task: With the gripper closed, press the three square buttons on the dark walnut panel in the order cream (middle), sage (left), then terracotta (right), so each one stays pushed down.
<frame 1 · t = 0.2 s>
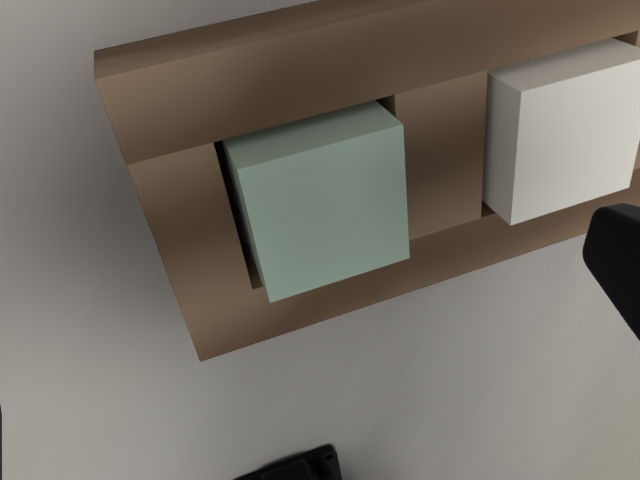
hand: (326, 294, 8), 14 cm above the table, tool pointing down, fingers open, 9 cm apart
sage button: (319, 198, 21), point 3 cm above the table, slide at 0.0 cm
cream button: (555, 129, 23), point 3 cm above the table, slide at 0.0 cm
button panel: (511, 103, 25), on the table
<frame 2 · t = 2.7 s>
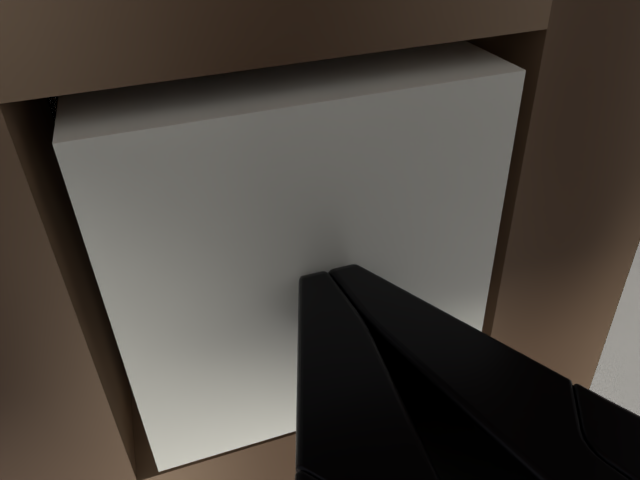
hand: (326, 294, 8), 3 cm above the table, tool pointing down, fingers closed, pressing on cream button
cream button: (292, 237, 9), point 2 cm above the table, slide at 1.3 cm, touching gripper
button panel: (266, 188, 11), on the table
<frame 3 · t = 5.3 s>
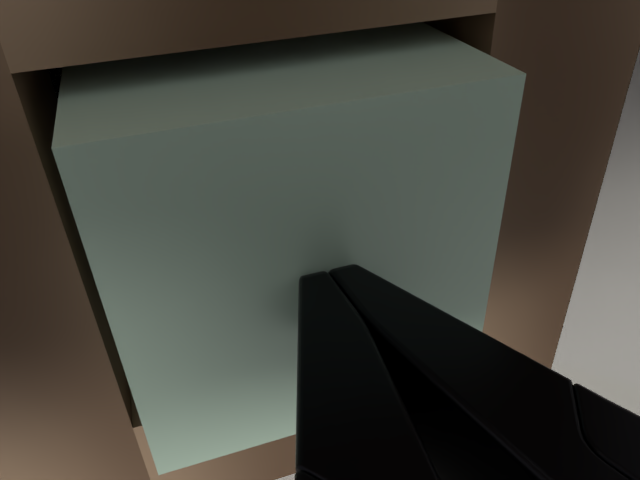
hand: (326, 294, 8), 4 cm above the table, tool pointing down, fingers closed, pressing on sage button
sage button: (292, 240, 9), point 3 cm above the table, slide at 0.1 cm, touching gripper
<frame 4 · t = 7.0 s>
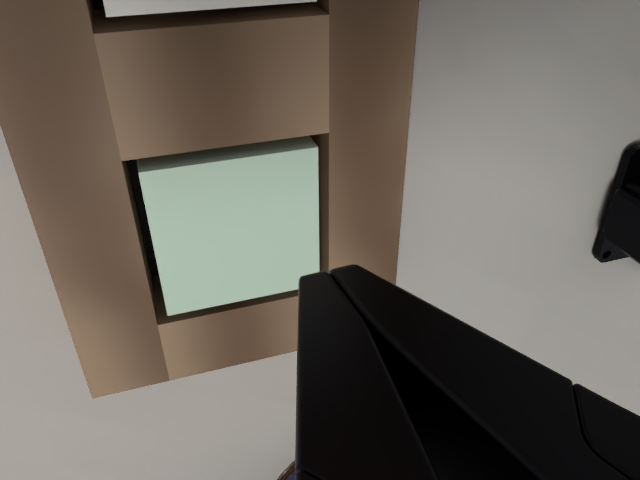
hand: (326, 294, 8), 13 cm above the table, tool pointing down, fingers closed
sage button: (231, 213, 20), point 2 cm above the table, slide at 1.4 cm
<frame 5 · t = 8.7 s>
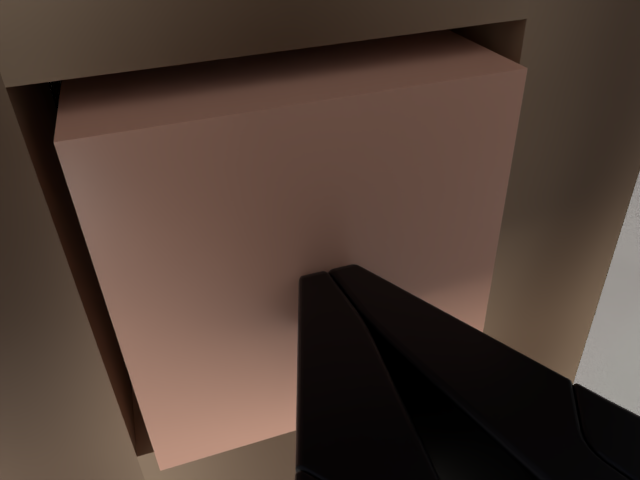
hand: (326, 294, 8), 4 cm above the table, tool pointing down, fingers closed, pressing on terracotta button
terracotta button: (293, 236, 9), point 2 cm above the table, slide at 0.8 cm, touching gripper
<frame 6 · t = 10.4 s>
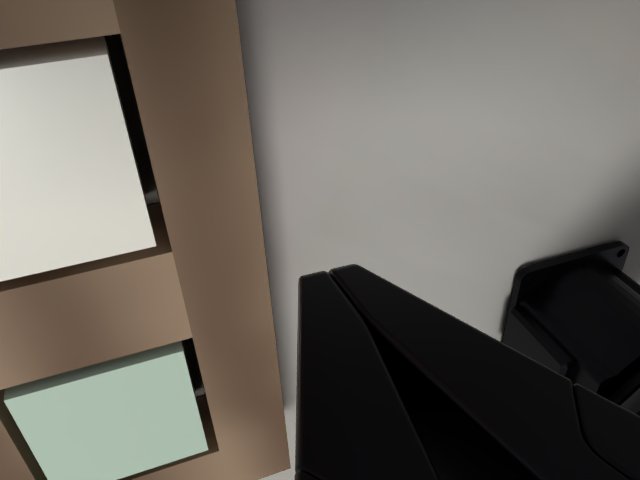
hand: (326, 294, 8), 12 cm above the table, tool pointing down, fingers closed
sage button: (115, 396, 21), point 2 cm above the table, slide at 1.4 cm
cream button: (24, 156, 16), point 2 cm above the table, slide at 1.4 cm
button panel: (27, 133, 17), on the table
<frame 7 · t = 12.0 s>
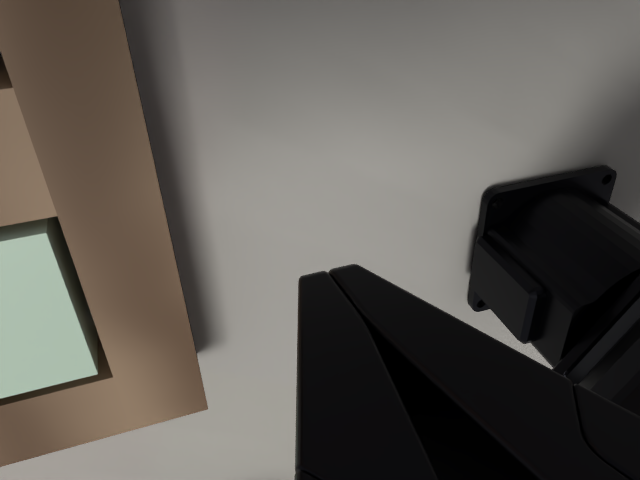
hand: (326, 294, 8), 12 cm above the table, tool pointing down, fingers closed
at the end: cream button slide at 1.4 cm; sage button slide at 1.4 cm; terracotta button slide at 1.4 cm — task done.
